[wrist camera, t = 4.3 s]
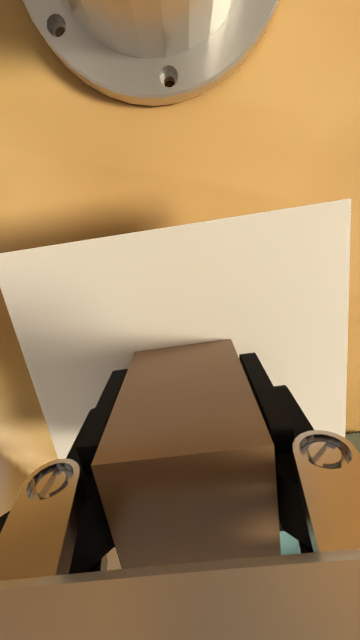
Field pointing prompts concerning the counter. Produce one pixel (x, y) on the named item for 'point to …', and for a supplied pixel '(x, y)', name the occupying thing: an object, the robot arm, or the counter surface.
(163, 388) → the lid
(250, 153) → the counter surface
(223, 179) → the counter surface
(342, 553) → the robot arm
